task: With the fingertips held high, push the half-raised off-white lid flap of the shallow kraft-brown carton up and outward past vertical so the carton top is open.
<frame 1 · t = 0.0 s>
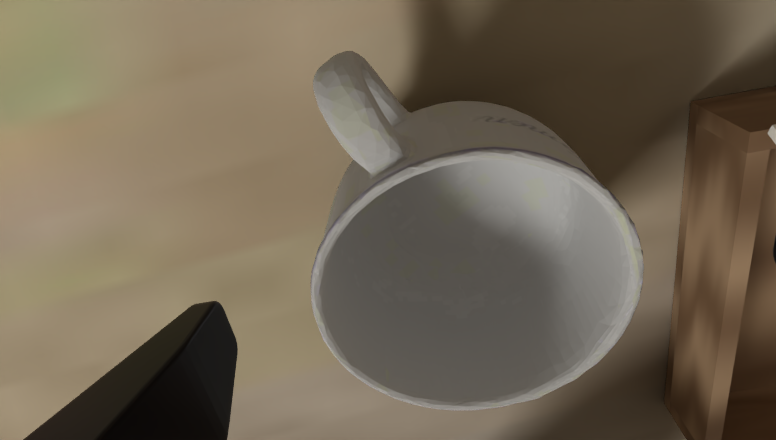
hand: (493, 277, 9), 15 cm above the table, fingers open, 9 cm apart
teacup: (434, 167, 24), on the table
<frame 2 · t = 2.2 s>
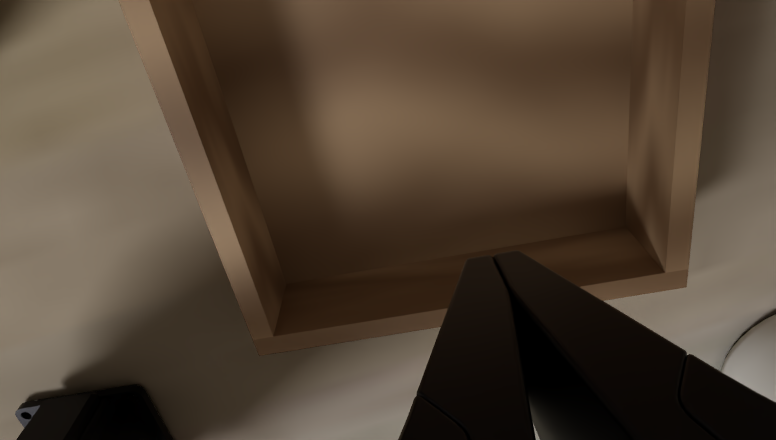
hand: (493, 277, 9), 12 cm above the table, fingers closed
carton: (421, 56, 19), on the table
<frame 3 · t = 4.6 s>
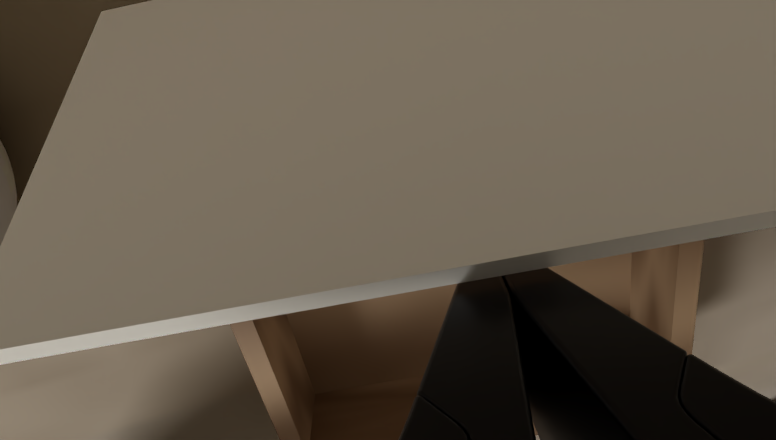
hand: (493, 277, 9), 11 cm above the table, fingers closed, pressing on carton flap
carton flap: (442, 65, 10), point 9 cm above the table, hinge at 67.3°, touching gripper
carton: (442, 205, 21), on the table
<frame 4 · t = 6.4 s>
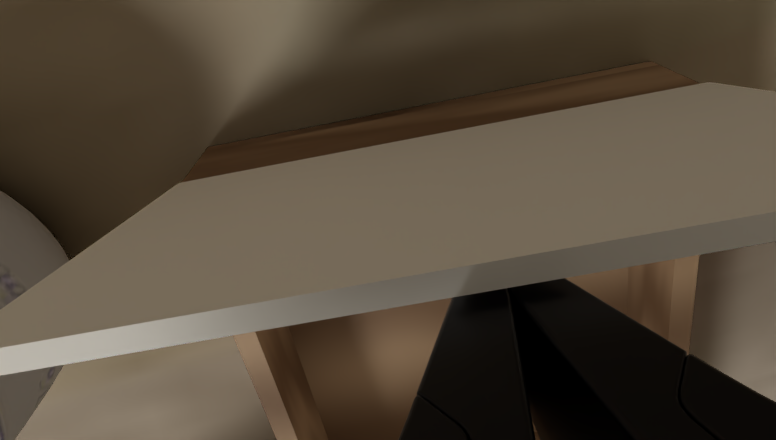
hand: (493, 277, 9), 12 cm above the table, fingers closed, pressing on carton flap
carton flap: (457, 181, 11), point 9 cm above the table, hinge at 99.4°, touching gripper
carton: (455, 304, 23), on the table
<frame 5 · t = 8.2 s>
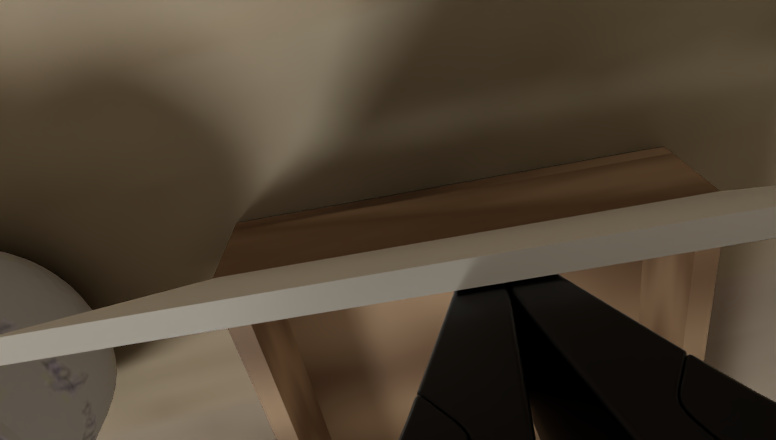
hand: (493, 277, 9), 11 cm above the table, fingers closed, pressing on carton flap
carton flap: (473, 250, 12), point 8 cm above the table, hinge at 120.7°, touching gripper
carton: (470, 360, 24), on the table
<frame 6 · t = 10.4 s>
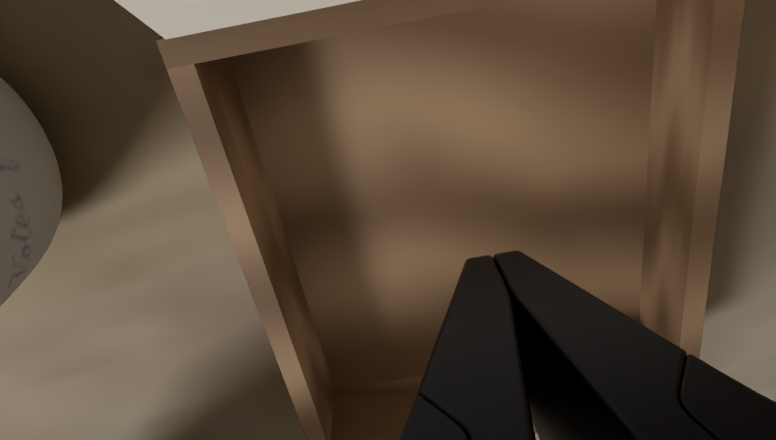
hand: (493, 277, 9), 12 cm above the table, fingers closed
carton: (461, 209, 22), on the table
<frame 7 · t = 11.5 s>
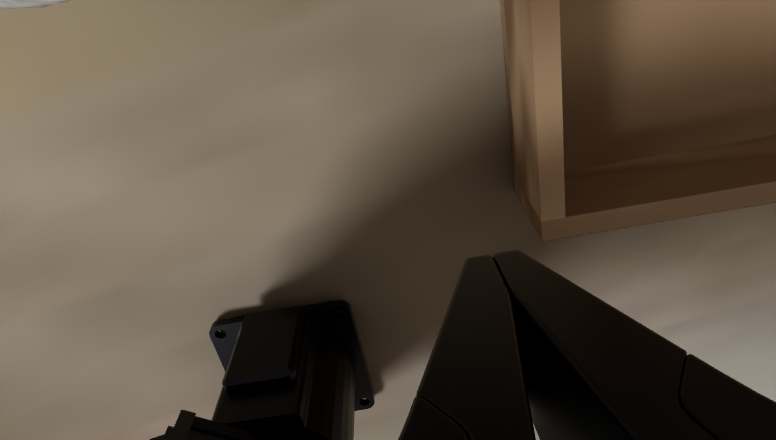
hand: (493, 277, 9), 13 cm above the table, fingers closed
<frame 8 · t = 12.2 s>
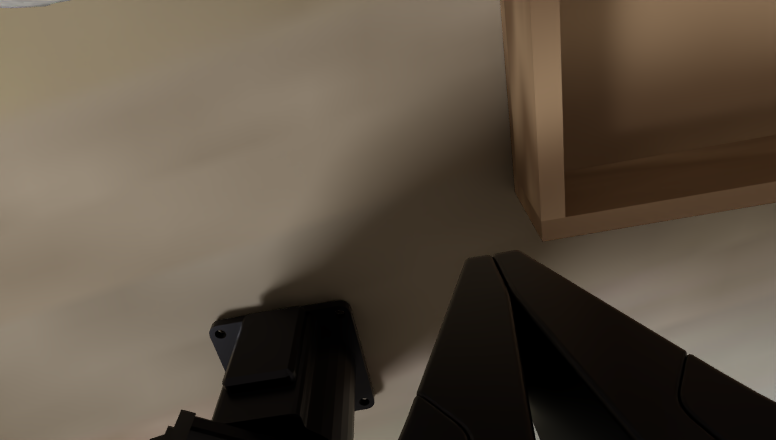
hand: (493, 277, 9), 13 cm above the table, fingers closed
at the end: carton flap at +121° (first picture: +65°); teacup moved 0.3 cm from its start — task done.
